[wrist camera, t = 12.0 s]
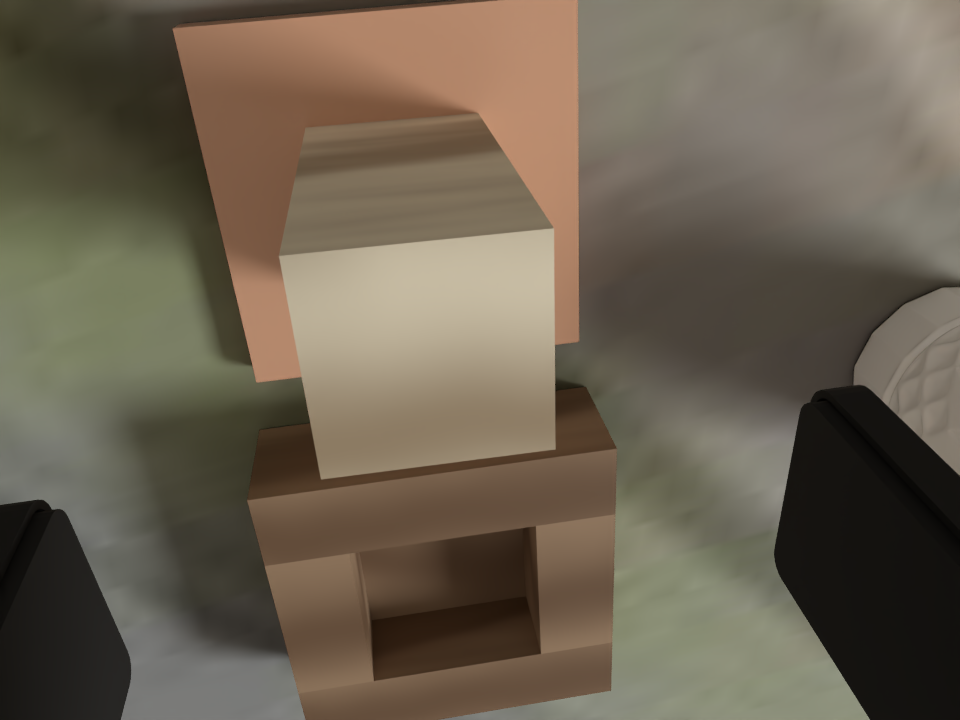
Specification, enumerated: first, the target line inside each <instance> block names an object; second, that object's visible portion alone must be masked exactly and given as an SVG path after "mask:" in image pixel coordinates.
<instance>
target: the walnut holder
mask: <svg viewBox="0 0 960 720" xmlns="http://www.w3.org/2000/svg"><path fill="white" fill-rule="evenodd" d="M555 442H556V449H555V450H547V451H539V452H532V453H524V454H516V455H508V456H500V457H493V458H485V459H477V460H469V461H461V462H454V463H446V464H438V465H430V466H423V467H415V468H407V469H399V470H391V471H384V472H376V473H368V474H360V475H352V476H345V477H337V478H329V479H321V477H320V471H319V466H318V461H317V456H316V450H315V445H314V440H313V434H312V429H311V424H310V423H307V424H300V425H292V426H285V427H277V428H270V429H262V430H259V435H258V441H257V447H256V452H255V458H254V464H253V469H252V475H251V481H250V487H249V492H248V498H247V502H248V506H249V510H250V513H251V517H252V521H253V525H254V528H255V532H256V536H257V540H258V543H259V547H260V551H261V554H262V558H263V562H264V566H265V569H266V573H267V577H268V581H269V584H270V588H271V592H272V596H273V599H274V603H275V607H276V611H277V614H278V618H279V622H280V626H281V629H282V633H283V637H284V641H285V644H286V648H287V652H288V656H289V659H290V663H291V667H292V670H293V674H294V678H295V682H296V685H297V689H298V693H299V697H300V700H301V704H302V708H303V712H304V715H305V719H306V720H439V719H445V718H451V717H457V716H463V715H469V714H475V713H481V712H487V711H492V710H498V709H504V708H510V707H516V706H522V705H528V704H534V703H540V702H546V701H552V700H558V699H564V698H570V697H576V696H581V695H587V694H593V693H599V692H605V691H611V670H612V629H613V588H614V547H615V506H616V465H617V448H616V446H615V444H614V442H613V440H612V438H611V436H610V434H609V432H608V430H607V428H606V426H605V424H604V422H603V420H602V418H601V416H600V414H599V412H598V410H597V408H596V406H595V404H594V402H593V400H592V398H591V396H590V394H589V392H588V390H587V388H586V387H580V388H572V389H565V390H557V391H555Z"/></svg>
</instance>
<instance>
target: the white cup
mask: <svg viewBox="0 0 960 720" xmlns="http://www.w3.org/2000/svg"><path fill="white" fill-rule="evenodd" d="M854 385H863V386H866V387H867V388H869V389H870V390H871V391H873V392H874V393H875V394H876V395H877V396H878V397H879V398H880V399H881V400H882V401H883V402H884V403H885V404H886V405H887V406H888V407H889V408H890V409H891V410H892V411H893V412H894V413H895V414H896V415H897V416H898V417H899V418H900V419H902V420H903V421H904V422H905V423H906V424H907V425H908V426H909V427H910V428H911V429H912V430H913V431H914V432H915V433H916V434H917V435H918V436H919V437H920V438H921V439H922V440H923V441H924V442H925V443H926V444H927V445H928V446H929V447H931V448H932V449H933V450H934V451H935V452H936V453H937V454H938V455H939V456H940V457H941V458H942V459H943V460H944V461H945V462H946V463H947V464H948V465H949V466H950V467H951V468H952V469H953V470H954V471H955V472H956V473H957V474H958V475H960V287H945V288H940V289H938V290H935V291H933V292H931V293H929V294H926V295H924V296H922V297H919V298H917V299H915V300H913V301H910V302H908V303H906V304H904V305H903V306H901V307H900V308H899V309H898V310H897V311H896V312H895V313H894V314H893V315H892V316H890V317H889V318H888V319H887V320H886V321H885V322H884V323H883V324H882V325H881V326H879V327H878V328H877V329H876V330H875V331H874V332H873V333H872V335H871V337H870V338H869V340H868V342H867V344H866V346H865V348H864V350H863V351H862V353H861V355H860V357H859V359H858V361H857V363H856V364H855V367H854V381H853V386H854Z"/></svg>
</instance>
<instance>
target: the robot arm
mask: <svg viewBox="0 0 960 720" xmlns="http://www.w3.org/2000/svg"><path fill="white" fill-rule="evenodd" d="M774 557H775V563H776V567H777V570H778V573H779V575H780V577H781V579H782V581H783V582H784V584H785V585H786V587H787V588H788V590H789V592H790V593H791V595H792V596H793V598H794V600H795V601H796V603H797V604H798V606H799V608H800V609H801V611H802V612H803V614H804V615H805V617H806V619H807V620H808V622H809V623H810V625H811V627H812V628H813V630H814V631H815V633H816V635H817V636H818V638H819V639H820V641H821V642H822V644H823V646H824V647H825V649H826V650H827V652H828V654H829V655H830V657H831V658H832V660H833V661H834V663H835V665H836V666H837V668H838V669H839V671H840V673H841V674H842V676H843V677H844V679H845V681H846V682H847V684H848V685H849V687H850V688H851V690H852V692H853V693H854V695H855V696H856V698H857V700H858V701H859V703H860V704H861V706H862V708H863V709H864V711H865V712H866V714H867V715H868V717H869V719H870V720H960V475H958V474H957V473H956V472H955V471H954V470H953V469H952V468H951V467H950V466H949V465H948V464H947V463H946V462H945V461H944V460H943V459H942V458H941V457H940V456H939V455H938V454H937V453H936V452H935V451H934V450H933V449H932V448H931V447H929V446H928V445H927V444H926V443H925V442H924V441H923V440H922V439H921V438H920V437H919V436H918V435H917V434H916V433H915V432H914V431H913V430H912V429H911V428H910V427H909V426H908V425H907V424H906V423H905V422H904V421H903V420H902V419H900V418H899V417H898V416H897V415H896V414H895V413H894V412H893V411H892V410H891V409H890V408H889V407H888V406H887V405H886V404H885V403H884V402H883V401H882V400H881V399H880V398H879V397H878V396H877V395H876V394H875V393H874V392H873V391H871V390H870V389H869V388H867V387H866V386H863V385H854V386H846V387H839V388H832V389H825V390H820V391H818V392H816V393H815V394H814V396H813V397H812V400H811V403H807V404H804V405H803V407H802V408H801V411H800V415H799V420H798V426H797V431H796V436H795V442H794V447H793V452H792V458H791V463H790V469H789V474H788V479H787V485H786V490H785V495H784V501H783V506H782V511H781V517H780V522H779V528H778V533H777V538H776V544H775V550H774ZM130 680H131V663H130V657H129V654H128V651H127V649H126V646H125V644H124V642H123V640H122V637H121V635H120V633H119V631H118V628H117V626H116V624H115V622H114V619H113V617H112V615H111V613H110V610H109V608H108V606H107V604H106V601H105V599H104V597H103V595H102V592H101V590H100V588H99V586H98V583H97V581H96V579H95V577H94V574H93V572H92V570H91V568H90V565H89V563H88V561H87V559H86V556H85V554H84V552H83V550H82V547H81V545H80V543H79V541H78V538H77V536H76V534H75V532H74V529H73V527H72V525H71V523H70V520H69V518H68V516H67V515H66V513H65V512H64V511H63V510H61V509H56V510H52V509H51V507H50V506H49V504H48V503H46V502H45V501H44V500H33V501H26V502H19V503H12V504H4V505H0V720H121V716H122V712H123V709H124V705H125V701H126V697H127V693H128V689H129V685H130Z"/></svg>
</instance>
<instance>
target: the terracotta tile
mask: <svg viewBox="0 0 960 720" xmlns="http://www.w3.org/2000/svg"><path fill="white" fill-rule="evenodd" d="M173 33H174V37H175V41H176V45H177V50H178V54H179V58H180V62H181V66H182V71H183V75H184V79H185V83H186V87H187V92H188V96H189V100H190V104H191V108H192V113H193V117H194V121H195V125H196V130H197V134H198V138H199V142H200V146H201V151H202V155H203V159H204V163H205V167H206V172H207V176H208V180H209V184H210V188H211V193H212V197H213V201H214V205H215V210H216V214H217V218H218V222H219V226H220V231H221V235H222V239H223V243H224V247H225V252H226V256H227V260H228V264H229V268H230V273H231V277H232V281H233V285H234V290H235V294H236V298H237V302H238V306H239V311H240V315H241V319H242V323H243V327H244V332H245V336H246V340H247V344H248V348H249V353H250V357H251V361H252V365H253V369H254V374H255V378H256V382H257V383H258V382H266V381H274V380H281V379H289V378H297V377H302V376H301V371H300V365H299V360H298V355H297V350H296V344H295V339H294V334H293V328H292V323H291V318H290V312H289V307H288V302H287V297H286V291H285V286H284V281H283V275H282V270H281V265H280V259H279V253H280V248H281V243H282V238H283V234H284V229H285V224H286V219H287V214H288V210H289V205H290V200H291V195H292V190H293V186H294V181H295V176H296V171H297V166H298V161H299V157H300V152H301V147H302V142H303V137H304V133H305V128H306V127H318V126H329V125H341V124H353V123H365V122H376V121H388V120H400V119H411V118H423V117H435V116H447V115H458V114H470V113H479V115H480V116H481V118H482V119H483V121H484V122H485V124H486V126H487V127H488V129H489V130H490V132H491V133H492V135H493V136H494V138H495V139H496V141H497V142H498V144H499V145H500V147H501V148H502V150H503V151H504V153H505V154H506V156H507V157H508V159H509V161H510V162H511V164H512V165H513V167H514V168H515V170H516V171H517V173H518V174H519V176H520V177H521V179H522V180H523V182H524V183H525V185H526V186H527V188H528V189H529V191H530V192H531V194H532V196H533V197H534V199H535V200H536V202H537V203H538V205H539V206H540V208H541V209H542V211H543V212H544V214H545V215H546V217H547V218H548V220H549V221H550V223H551V224H552V226H553V227H554V296H555V345H558V344H565V343H573V342H579V198H578V0H455V1H444V2H432V3H420V4H408V5H397V6H385V7H373V8H362V9H350V10H338V11H326V12H315V13H303V14H291V15H279V16H268V17H256V18H244V19H233V20H221V21H209V22H197V23H186V24H179V25H177V26H176V27H174V28H173Z"/></svg>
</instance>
